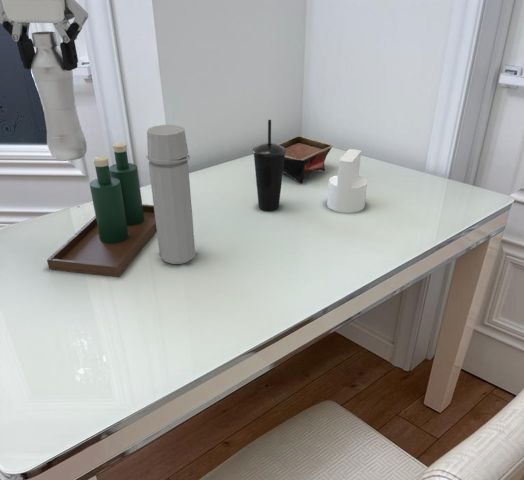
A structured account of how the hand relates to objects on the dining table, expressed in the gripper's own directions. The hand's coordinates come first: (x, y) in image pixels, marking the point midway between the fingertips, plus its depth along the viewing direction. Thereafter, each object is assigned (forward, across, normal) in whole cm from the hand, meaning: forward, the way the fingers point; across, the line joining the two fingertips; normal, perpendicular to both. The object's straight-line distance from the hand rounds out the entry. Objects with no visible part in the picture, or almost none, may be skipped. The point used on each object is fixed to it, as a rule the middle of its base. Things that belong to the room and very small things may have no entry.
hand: (51, 67), depth 91 cm
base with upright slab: (+35, -48, -37) cm, 71 cm away
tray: (+35, -1, -8) cm, 36 cm away
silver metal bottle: (+15, 0, 0) cm, 15 cm away
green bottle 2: (+34, -1, -18) cm, 39 cm away
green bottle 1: (+34, -1, -8) cm, 35 cm away
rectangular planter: (+35, -33, -57) cm, 75 cm away
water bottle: (+35, -17, -4) cm, 39 cm away
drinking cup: (+35, -30, -32) cm, 57 cm away
